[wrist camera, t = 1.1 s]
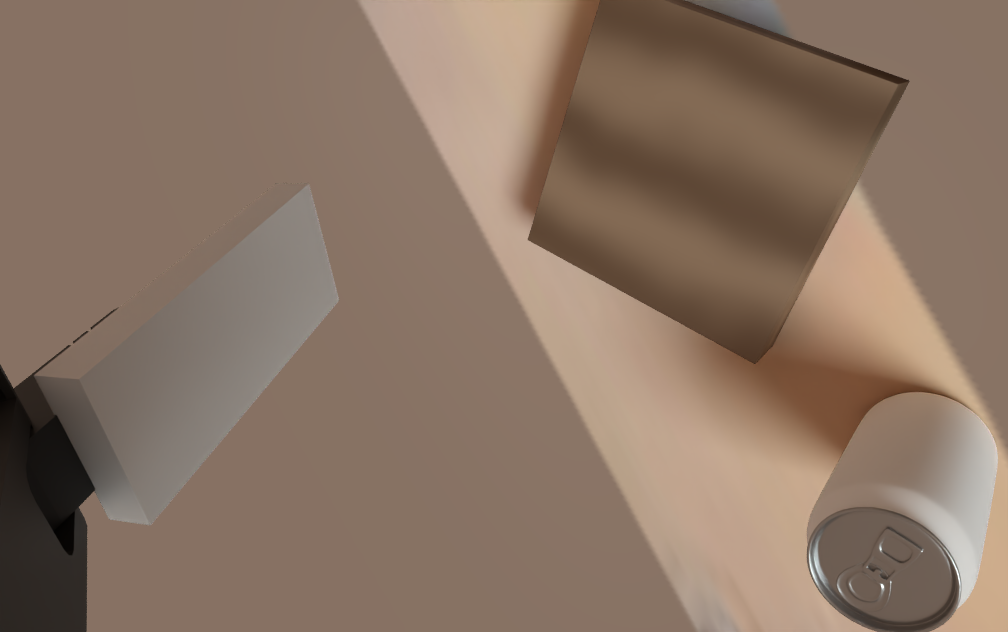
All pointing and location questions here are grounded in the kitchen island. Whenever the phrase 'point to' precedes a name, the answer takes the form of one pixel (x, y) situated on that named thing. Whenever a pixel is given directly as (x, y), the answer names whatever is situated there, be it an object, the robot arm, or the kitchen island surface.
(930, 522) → the can
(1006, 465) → the kitchen island surface
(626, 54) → the walnut board
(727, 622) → the kitchen island surface
